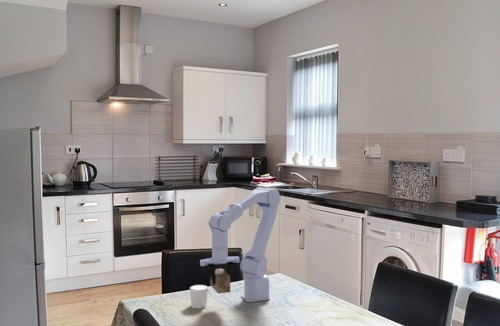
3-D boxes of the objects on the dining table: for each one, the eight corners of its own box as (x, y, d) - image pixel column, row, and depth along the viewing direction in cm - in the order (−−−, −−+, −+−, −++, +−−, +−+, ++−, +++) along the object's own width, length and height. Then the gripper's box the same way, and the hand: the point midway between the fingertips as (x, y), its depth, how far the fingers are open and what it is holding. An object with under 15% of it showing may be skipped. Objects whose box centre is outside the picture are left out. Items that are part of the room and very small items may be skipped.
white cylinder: (205, 309, 165) (204, 290, 164) (187, 308, 166) (187, 289, 166) (210, 303, 172) (210, 285, 171) (193, 301, 173) (193, 283, 173)
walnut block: (221, 283, 170) (221, 268, 170) (230, 292, 161) (230, 275, 161) (210, 285, 169) (210, 269, 168) (218, 293, 159) (218, 276, 159)
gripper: (203, 250, 158) (203, 288, 158) (242, 247, 163) (242, 284, 163) (198, 246, 164) (198, 283, 165) (235, 243, 169) (236, 278, 170)
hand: (220, 283), depth 165 cm, fingers closed on walnut block, 4 cm apart
